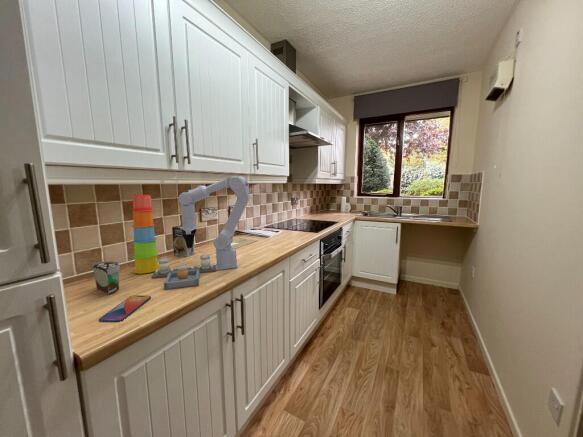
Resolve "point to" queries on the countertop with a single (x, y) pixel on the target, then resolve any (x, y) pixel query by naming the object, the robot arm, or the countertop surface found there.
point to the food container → (107, 276)
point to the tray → (173, 281)
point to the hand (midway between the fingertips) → (190, 246)
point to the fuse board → (212, 269)
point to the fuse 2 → (205, 262)
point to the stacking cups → (144, 235)
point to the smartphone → (125, 308)
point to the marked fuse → (182, 272)
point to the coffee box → (180, 243)
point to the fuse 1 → (164, 266)
